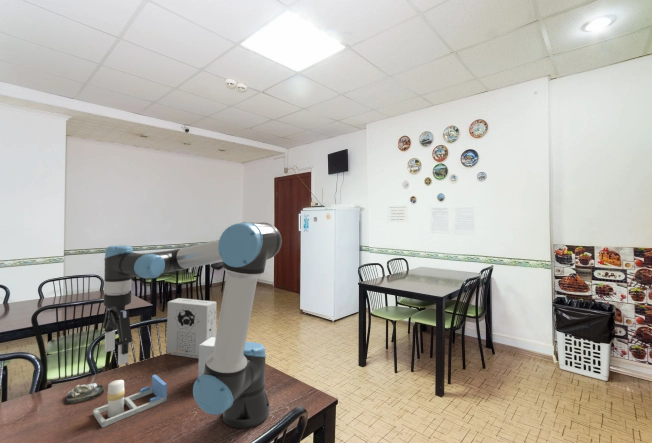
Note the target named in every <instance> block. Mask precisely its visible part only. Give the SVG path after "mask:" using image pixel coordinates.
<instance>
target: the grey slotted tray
mask: <svg viewBox="0 0 652 443" xmlns="http://www.w3.org/2000/svg"><path fill="white" fill-rule="evenodd" d="M150 394H153V395H155V396H154V397H152V398H150V399H149V402H146V403H143V404H142V405H138V406H137V405H136V404H135V403H134V402H133V401H135V400H137V399H140V398H143V397H146V396H148V395H150ZM167 397H168V383H166V382H165V381H164V380H162V379H161V377H160V376H158V375H157V374H153V375H151V386H150V385H148V386H145V387H143V388H141V389H139V391H138V392H136V393H134V394H132V395H129V396H126V397H124V405H126V406H127V407H128V409H129V410H126V411H124V412H123V413H121V414H119V415H116V416H114V417H111V418H109V417H108V418H107V419H105V417H103V415H102V414H101V413H104V412H108V403H107V404H104V405H102V406H100V407H99V406H98V407H97V408H94V409H93V410H92V415H93V417H94V418H95V419H96V420H97V422H98V424H99V425H100V427H101V428H103V429H104V428H105V427H108V426H109V425H110V426H111V425H112V424H115V423H118V422H120V421H121V420H124V419H126V418H130V417H131V416H134V415H136V414H139V413H141V412H143V411H145V410H149V409H150V408H153V407H155V406H158V405H160V404H162V403H165V402H167V400H168V398H167Z"/></svg>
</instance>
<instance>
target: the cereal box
mask: <svg viewBox="0 0 652 443" xmlns="http://www.w3.org/2000/svg"><path fill="white" fill-rule="evenodd" d="M166 317H167V319H166V320H167V321H166V322H167V325H166V327H167V328H166V330H167V331H166V333H167V334H166V335H167V336H166V355H172V356H178V357H179V356H180V357H185V358H193V359H197V360H199V345H200V344H202V343H203V342H204V341H206V340H208V339H209V338H211V337H215V338H216V333H217V301H214V300H213V301H212V300H202V299H201V300H200V299H193V298H183V297H181V298H180V297H178V298H175V299H172V300H169V301H167V316H166ZM180 349H181V350H180ZM177 350H179V351H177ZM175 351H177V352H175ZM171 352H174V353H171ZM169 353H170V354H169Z"/></svg>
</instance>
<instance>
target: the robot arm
mask: <svg viewBox="0 0 652 443" xmlns="http://www.w3.org/2000/svg"><path fill="white" fill-rule="evenodd" d="M282 244H283V238H282V235H281V233H280V230H279V229H277V227H276V226H275V225H273V224H271V223H269V222H246V221H244V222H239V223H234V224H231V225H230V226H228V227H227V228H225V229H224V230H223V232H222V233H221V235H220V236H219V239H217V240H213V241H212V240H211V241H209V242H208V241H207V242H203V243H200V244H193V245H190V246H185V247H181V248H176V249H171V250H165V251H155V252H145V253H144V252H143V253H139V252H138V253H137V252H134V251H133V250H134V249H133V246H132V245H125V244H123V245H121V244H120V245H111V246H110V245H109V246H107V247H106V248H105V252H104V259H103V261H104V276H103V277H104V280H103V293H104V295H103V305H104V306H105V307H106V311H105V315H104V320H103V324H102V325H103V326H102V328H103V329H104V352H105V353H107V352H112V351H115V349H116V346H115V345H117V346H118V348H117V352H118V353H117V355H118V356H117V366H120V365H121V366H122V365H124V364H127V363H129V361H130V360H129V357H130V343H132V342H133V337H132V329H131V322H130V311H129V309H127V310H126V308H125V307H126V306H128V305H130V304H131V303H132V292H131V291H132V285H133V283H134V280H132V279H133V277H135V278H142V279H156V278H158V277H160V276H161V275H162V274H165V273H171V272H178V271H182V270H186V269H190V268H197V267H202V266H206V265H212V264H216V263H217V264H218V263H222V269H223V270H224V271H225V273H226V279H225V282H224V290H223V294H222V300H221V307H220V313H219V318H218V323H217V327H216V339H215V344H214V350H213V353H211V354H210V355H209V356H208V357H207V359H206V363H205V369H204V373H203V375H201V376H200V377H198V376H197V379H196V380H195V381H194V383H193V386H192V395H193V399H194V401H195V403H196V404H197V406H198V408H200V409H201V410H202V411H203V412H204V413H206V414H209V415H213V416H218V415H221V414H222V421H223V422H224V424H226V425H227V426H228V427H232V428H235V429H248V428H253V427H255V426H257V425H259V424H261V423H263V422H264V421H265V420H266V419H267V418H268V417H269V415H270V401H269V398H268V394H267V391H266V387H265V384H266V383H265V382H266V357H267V355H266V348H265V346H264V345H263V344H262V343H259V342H256V341H255V342H254V341H247V338H248V337H247V336H248V333H249V326H250V321H251V317H252V316H251V315H252V310H253V305H254V300H255V294H256V288H257V282H258V278H259V277H260V276H262V275H264V273H265V267H266V264H267V260H269V259H272V258H273V257H275V256H276V255H277V254H278V253H279V251H280V249H281V248H282ZM115 330H117V336H118V340H119V342H117V344H116V343H115V342H116V331H115Z"/></svg>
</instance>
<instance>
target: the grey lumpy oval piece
mask: <svg viewBox="0 0 652 443" xmlns="http://www.w3.org/2000/svg"><path fill="white" fill-rule="evenodd" d="M104 393H105V387H104V385H102V384H97V383H96V382H93V383H88V384H81V385H80V384H77V385H76V386H74V388H72V389H71V390H69V391H68V392H67V393H66V394H67V396H66V398H65V404H67V405H72V404H78V403H83V402H84V403H85V402H87V401H91V400H94V399H96V398H98V397H101V396H102V395H104Z"/></svg>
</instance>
